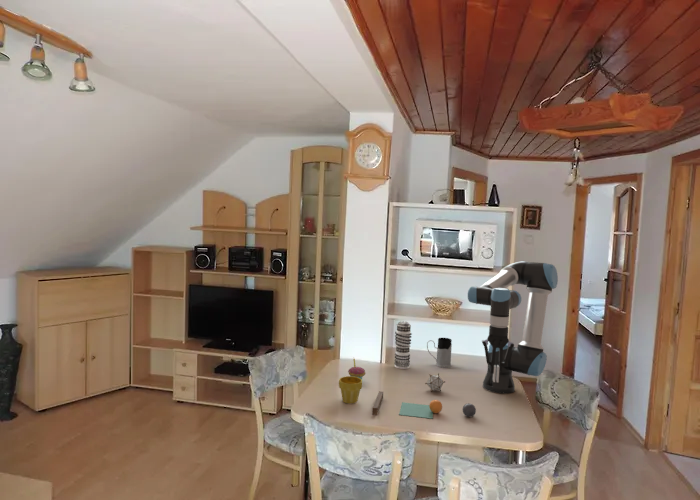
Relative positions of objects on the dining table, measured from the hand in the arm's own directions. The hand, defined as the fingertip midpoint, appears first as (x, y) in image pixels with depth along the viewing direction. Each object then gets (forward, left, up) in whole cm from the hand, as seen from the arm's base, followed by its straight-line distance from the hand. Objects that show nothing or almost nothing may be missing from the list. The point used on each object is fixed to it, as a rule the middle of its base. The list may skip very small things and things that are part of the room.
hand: (495, 381), depth 205 cm
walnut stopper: (+49, 0, -16) cm, 52 cm away
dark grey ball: (+10, 0, -14) cm, 17 cm away
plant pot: (+62, -2, -17) cm, 64 cm away
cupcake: (+64, -29, -17) cm, 72 cm away
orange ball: (+24, 0, -14) cm, 28 cm away
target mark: (+32, 0, -16) cm, 36 cm away
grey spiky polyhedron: (+25, -27, -17) cm, 40 cm away
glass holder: (+24, -70, -17) cm, 76 cm away
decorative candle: (+44, -60, -17) cm, 76 cm away
